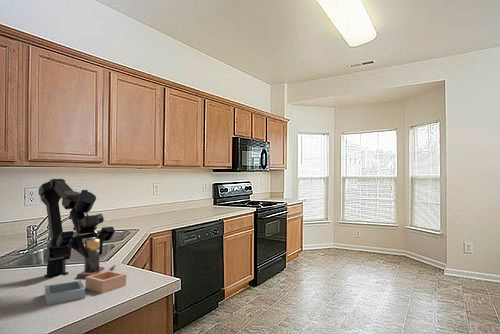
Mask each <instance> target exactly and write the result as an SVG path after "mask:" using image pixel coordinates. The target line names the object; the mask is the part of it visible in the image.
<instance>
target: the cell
mask: <svg viewBox="0 0 500 334" xmlns="http://www.w3.org/2000/svg"><path fill="white" fill-rule="evenodd" d="M84 247H85V249H86V252H87V258H85V257H84V268H83V269H84V270H83V271H84V272H85V273H94V272H98V271H99V267H100V263H101V262H100V257H101V255H100V239H98V238H95V237H90V239H84Z"/></svg>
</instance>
